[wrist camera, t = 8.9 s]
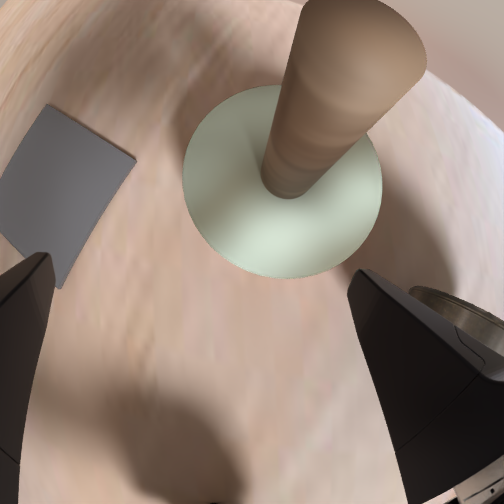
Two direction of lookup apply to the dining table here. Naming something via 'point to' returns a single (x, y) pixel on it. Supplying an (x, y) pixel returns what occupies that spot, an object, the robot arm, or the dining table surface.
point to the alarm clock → (464, 316)
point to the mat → (58, 189)
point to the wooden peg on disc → (304, 144)
